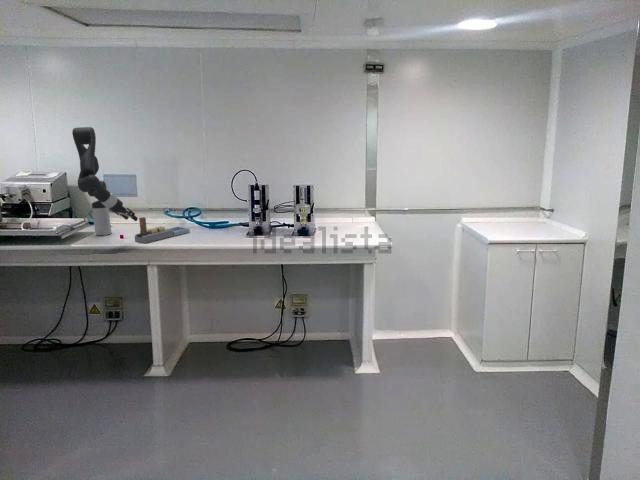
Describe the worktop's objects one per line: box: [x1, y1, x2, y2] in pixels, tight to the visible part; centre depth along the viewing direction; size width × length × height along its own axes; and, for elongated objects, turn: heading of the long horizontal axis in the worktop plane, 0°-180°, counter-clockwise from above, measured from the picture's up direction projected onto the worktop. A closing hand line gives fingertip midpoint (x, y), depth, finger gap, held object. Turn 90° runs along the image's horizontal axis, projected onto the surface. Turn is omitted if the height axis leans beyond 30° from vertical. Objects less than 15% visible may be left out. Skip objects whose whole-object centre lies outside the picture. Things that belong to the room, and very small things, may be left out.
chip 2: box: [154, 226, 166, 232], centre depth 298 cm, size 4×4×3 cm
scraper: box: [138, 216, 148, 236], centre depth 287 cm, size 2×4×11 cm, turn 56°
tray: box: [165, 226, 190, 237], centre depth 308 cm, size 12×11×2 cm
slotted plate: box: [134, 228, 174, 244], centre depth 295 cm, size 20×10×4 cm, turn 146°
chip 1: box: [147, 227, 157, 234], centre depth 293 cm, size 4×4×3 cm
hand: (132, 219), depth 281 cm, fingers open, 8 cm apart
